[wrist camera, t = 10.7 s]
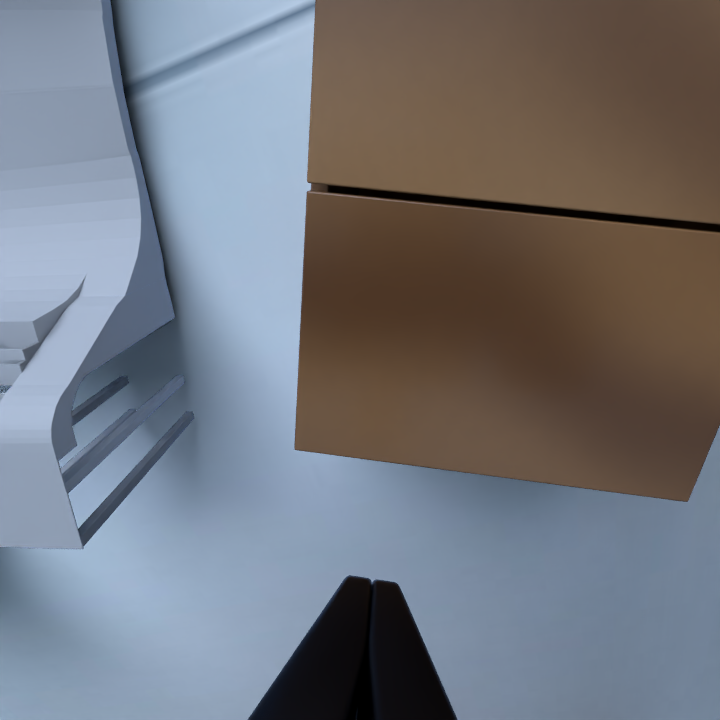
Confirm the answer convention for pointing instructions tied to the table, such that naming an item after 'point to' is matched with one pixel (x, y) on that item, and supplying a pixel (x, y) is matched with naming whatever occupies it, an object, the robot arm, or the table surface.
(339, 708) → the robot arm
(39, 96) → the white angular piece
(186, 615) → the table surface
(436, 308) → the flap
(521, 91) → the wooden drawer cabinet
